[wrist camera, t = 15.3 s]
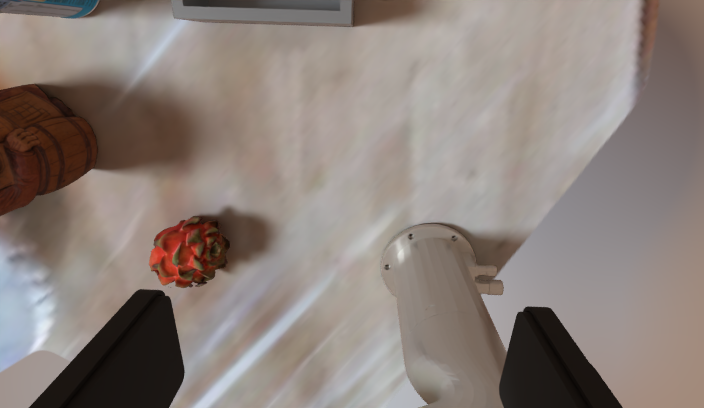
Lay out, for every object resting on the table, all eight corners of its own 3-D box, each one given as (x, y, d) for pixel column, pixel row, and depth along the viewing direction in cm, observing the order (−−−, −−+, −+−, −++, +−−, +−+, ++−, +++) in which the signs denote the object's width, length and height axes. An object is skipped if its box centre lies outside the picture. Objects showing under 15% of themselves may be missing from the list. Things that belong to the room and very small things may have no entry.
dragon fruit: (242, 212, 51) (189, 251, 56) (184, 191, 45) (130, 238, 49) (249, 268, 46) (190, 306, 51) (185, 254, 40) (125, 299, 45)
